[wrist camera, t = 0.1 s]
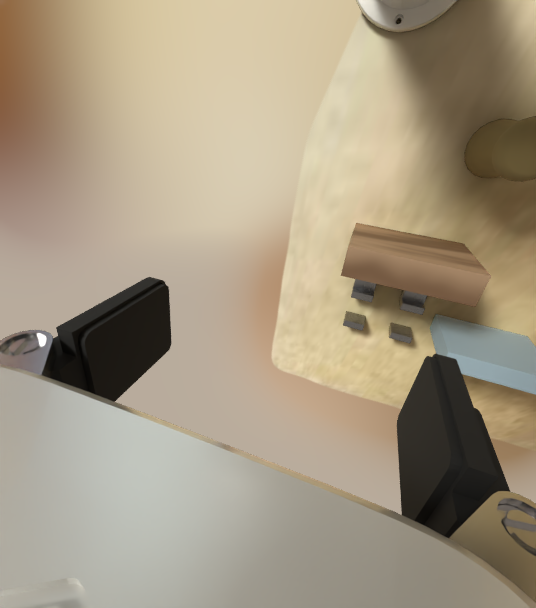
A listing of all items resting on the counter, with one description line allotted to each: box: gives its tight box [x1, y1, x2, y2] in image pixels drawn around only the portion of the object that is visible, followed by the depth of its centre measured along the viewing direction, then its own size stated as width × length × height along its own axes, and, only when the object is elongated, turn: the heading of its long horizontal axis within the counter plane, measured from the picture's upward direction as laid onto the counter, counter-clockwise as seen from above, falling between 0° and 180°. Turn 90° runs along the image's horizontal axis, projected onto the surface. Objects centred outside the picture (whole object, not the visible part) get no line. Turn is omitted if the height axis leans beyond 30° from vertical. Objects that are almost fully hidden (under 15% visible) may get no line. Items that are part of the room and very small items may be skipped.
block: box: [430, 314, 536, 395], centre depth 41 cm, size 4×12×10 cm, turn 83°
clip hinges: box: [343, 279, 427, 343], centre depth 45 cm, size 12×10×3 cm
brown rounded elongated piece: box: [465, 116, 536, 182], centre depth 30 cm, size 6×6×11 cm
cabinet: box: [341, 223, 491, 307], centre depth 37 cm, size 4×14×12 cm, turn 83°
